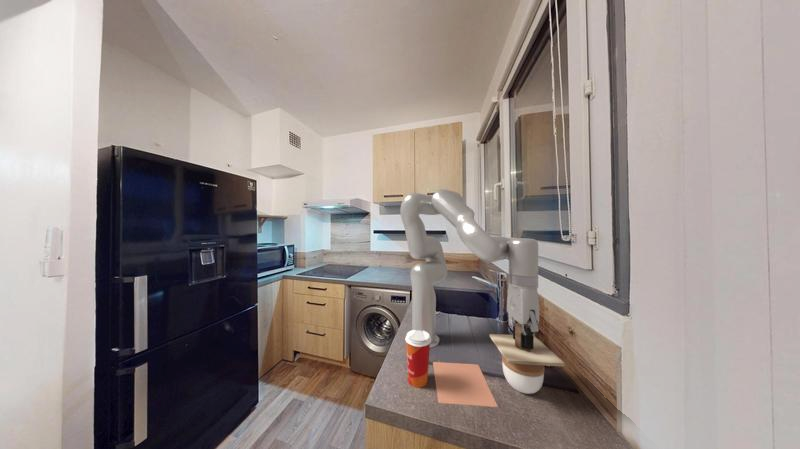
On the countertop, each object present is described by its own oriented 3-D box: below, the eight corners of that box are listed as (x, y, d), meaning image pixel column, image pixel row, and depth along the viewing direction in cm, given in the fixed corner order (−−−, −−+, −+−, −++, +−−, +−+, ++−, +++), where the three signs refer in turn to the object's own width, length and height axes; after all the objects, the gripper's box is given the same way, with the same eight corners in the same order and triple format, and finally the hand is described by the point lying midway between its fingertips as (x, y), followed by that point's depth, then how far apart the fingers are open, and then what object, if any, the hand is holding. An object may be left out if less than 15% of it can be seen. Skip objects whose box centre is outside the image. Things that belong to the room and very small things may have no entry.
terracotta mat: (432, 363, 73) (432, 361, 73) (478, 366, 72) (478, 364, 72) (438, 405, 56) (438, 402, 56) (497, 409, 55) (497, 406, 55)
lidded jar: (551, 405, 56) (552, 369, 56) (507, 398, 58) (507, 363, 59) (534, 377, 67) (535, 347, 67) (497, 372, 69) (498, 342, 69)
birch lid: (489, 336, 70) (489, 315, 70) (534, 338, 69) (534, 317, 69) (508, 363, 56) (508, 337, 56) (564, 366, 55) (564, 339, 55)
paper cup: (406, 371, 68) (407, 327, 69) (431, 375, 67) (432, 330, 67) (402, 390, 61) (403, 340, 61) (429, 394, 59) (430, 343, 59)
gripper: (498, 274, 72) (498, 329, 71) (524, 288, 55) (524, 360, 55) (522, 274, 71) (521, 330, 71) (555, 289, 54) (555, 362, 54)
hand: (522, 343), depth 63 cm, fingers closed on birch lid, 4 cm apart
